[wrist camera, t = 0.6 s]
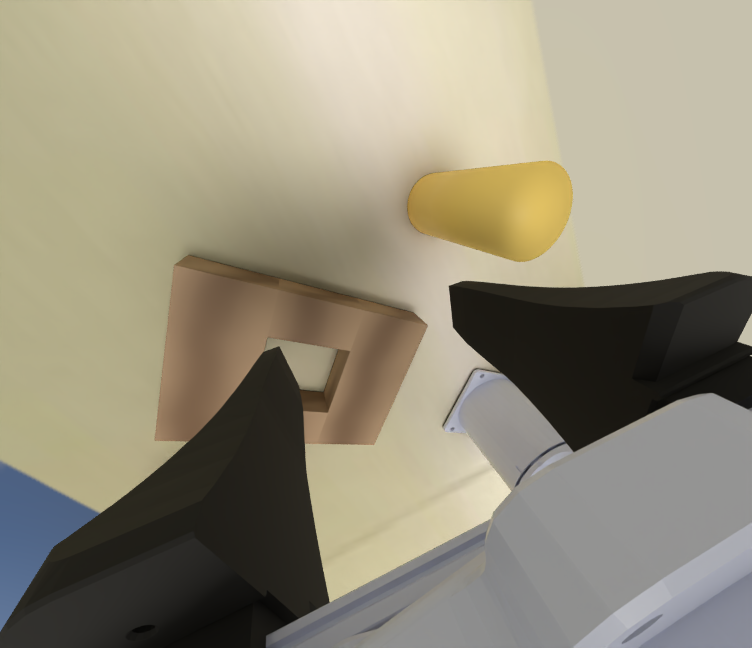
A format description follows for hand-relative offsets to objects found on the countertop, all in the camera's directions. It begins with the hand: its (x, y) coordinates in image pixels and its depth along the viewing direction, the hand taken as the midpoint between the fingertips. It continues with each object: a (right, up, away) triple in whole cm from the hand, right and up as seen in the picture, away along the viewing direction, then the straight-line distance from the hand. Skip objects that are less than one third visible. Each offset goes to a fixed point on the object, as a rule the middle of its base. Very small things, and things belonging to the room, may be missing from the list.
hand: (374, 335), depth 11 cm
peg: (+4, +9, +8) cm, 13 cm away
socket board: (-6, -2, +10) cm, 12 cm away
